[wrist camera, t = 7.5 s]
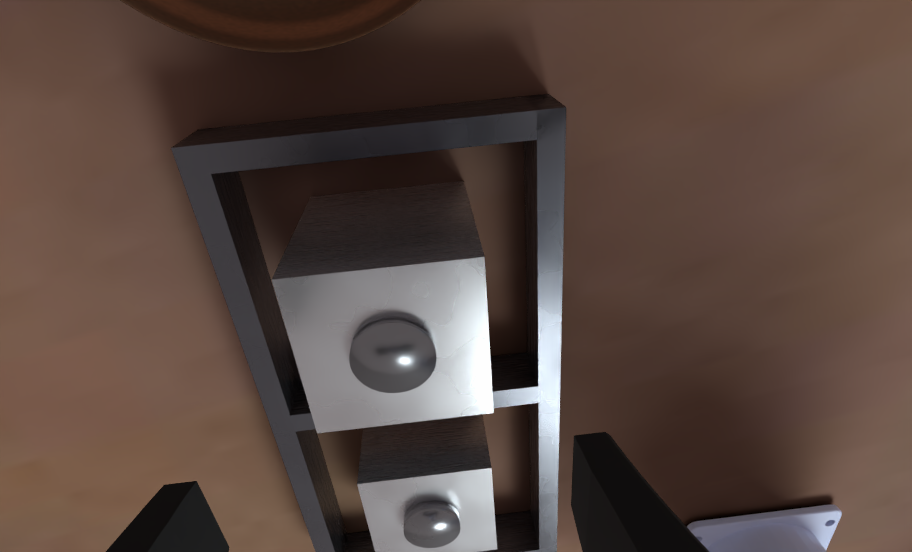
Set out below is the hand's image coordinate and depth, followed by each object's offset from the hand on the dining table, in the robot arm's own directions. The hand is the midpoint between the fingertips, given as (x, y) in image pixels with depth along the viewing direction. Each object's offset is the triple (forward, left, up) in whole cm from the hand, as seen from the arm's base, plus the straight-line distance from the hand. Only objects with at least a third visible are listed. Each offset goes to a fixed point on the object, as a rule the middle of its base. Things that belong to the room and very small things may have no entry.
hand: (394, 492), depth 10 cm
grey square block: (0, 0, -10) cm, 10 cm away
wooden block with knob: (-10, 0, -9) cm, 14 cm away
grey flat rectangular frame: (-5, 0, -9) cm, 11 cm away
